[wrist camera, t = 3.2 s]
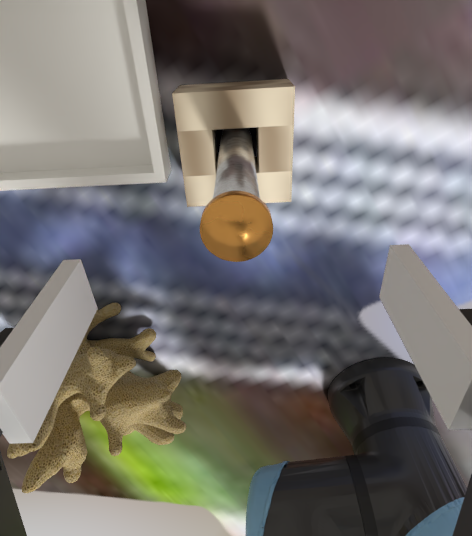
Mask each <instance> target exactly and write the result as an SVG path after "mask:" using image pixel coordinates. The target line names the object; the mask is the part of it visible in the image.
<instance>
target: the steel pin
mask: <svg viewBox="0 0 472 536" xmlns="http://www.w3.org/2000/svg"><path fill="white" fill-rule="evenodd" d="M272 234H273V224H272V218H271V214H270V211H269V209H268V207H267V206H266V204H265V203H264V202H263V201H262V200H261V199H260V196H259V189H258V182H257V174H256V167H255V159H254V152H253V145H252V137H251V132H250V130H249V128H235V129H223V131H222V135H221V143H220V150H219V158H218V165H217V173H216V180H215V188H214V195H213V199H212V200H211V201H210V202H209V203H208V204H207V206H206V207H205V209H204V211H203V213H202V217H201V223H200V235H201V239H202V241H203V243H204V245H205V246H206V248H207V249H208V250H209V251H210V252H211V253H212V254H214V255H215V256H217V257H219V258H221V259H223V260H227V261H233V262H240V261H246V260H249V259H252V258H254V257H256V256H258V255H259V254H261V253H262V252H263V251H264V250H265V249H266V248H267V246H268V245H269V243H270V241H271V238H272Z"/></svg>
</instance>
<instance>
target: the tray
mask: <svg viewBox="0 0 472 536" xmlns="http://www.w3.org/2000/svg"><path fill="white" fill-rule="evenodd" d="M170 172H171V165H170V158H169V151H168V145H167V138H166V132H165V125H164V119H163V112H162V106H161V99H160V92H159V86H158V79H157V73H156V66H155V60H154V53H153V46H152V40H151V33H150V27H149V20H148V14H147V7H146V1H145V0H0V191H4V190H24V189H44V188H64V187H83V186H103V185H123V184H143V183H163V182H166V181H167V179H168V177H169V175H170Z"/></svg>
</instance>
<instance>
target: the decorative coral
mask: <svg viewBox="0 0 472 536" xmlns="http://www.w3.org/2000/svg"><path fill="white" fill-rule="evenodd" d="M120 312H121V305H120V304H118V303H111V304H109V305H106V306H105V307H103V308H102V309H100V310H97V311H96V313H95V315H94V317H93V319H92V322H91V324H90V326H89V328H88V330H87V332H86V334H85V336H84V338H83V340H82V342H81V344H80V346H79V349H78V351H77V353H76V355H75V357H74V359H73V361H72V363H71V365H70V367H69V369H68V371H67V374H66V376H65V378H64V380H63V382H62V384H61V386H60V388H59V390H58V392H57V394H56V396H55V398H54V401H53V403H52V405H51V407H50V409H49V411H48V413H47V415H46V417H45V419H44V421H43V423H42V426H41V428H40V430H39V432H38V434H37V436H36V438H35V440H34V442H33V443H15V444H10V445H9V447H8V450H7V456H8V457H9V458H15V457H17V456H23V455H26V454H27V453H28V452H33V451H36V450H38V449H39V448H40V450H39V451H38V453H37V454H36V456H35V457H34V459H33V460H32V462H31V464H30V466H29V469H28V471H27V473H26V475H25V478H24V481H23V485H22V492H24V493H29V492H32V491H34V490H36V489H37V488H39V487H40V486H41V485H42V484H43V483H44V482H45V481H46V480H47V479H49V478H50V477H52V476H53V475H55V474H56V473H57V472H58V471H59V470H60V469H61V468H62V467H64V474H63V475H64V478H65V480H66V481H67V482H69V483H73V482H75V481H77V480H78V478H79V476H80V474H81V464H82V463H83V461H84V460H85V458H86V455H87V448H86V444H85V440H84V436H83V432H82V428H81V425H80V422H79V417H80V416H81V415H82V414H83V413H84V412H85V411H89V410H90V417H91V418H92V419H93V420H95V421H99V420H100V422H101V423H102V424H103V426H104V427H105V429H106V430H107V433H108V439H109V451H110V453H111V455H113V456H116V455H119V454H120V453H121V450H122V436H123V435H127V434H130V433H132V432H133V431H134V430H136V431H138V432H140V433H141V434H143V435H144V436H145V437H146V438H148V439H149V440H150V441H151V442H153V443H155V444H158V445H163V444H169V443H171V442H172V441H173V440H174V434H179V433H183V432H184V431H185V429H186V424H185V423H184V422H183V421H181V420H180V419H181V417H182V415H183V409H182V406H181V405H179V404H177V403H175V402H172V401H171V395H172V393H173V391H174V390H175V388H176V387H177V385H178V384H179V382H180V379H181V373H180V372H179V371H178V370H169V371H166V372H164V373H162V374H159V375H156V376H154V377H149V378H142V377H139V376H136V375H134V374H133V373H131V372H130V371H129V370H131V369H132V368H134V367H135V366H136V360H135V359H134V358H138V359H142V360H145V361H149V362H151V361H154V359H155V358H156V355H155V353H153V352H151V351H147V350H146V349H147V347H148V346H149V345H150V344H151V343H152V342H153V341H154V340H155V338H156V332H155V331H154V330H153V329H151V328H148V329H145V330H144V331H143V332H141V333H140V334H139V335H137V336H135V337H133V338H130V339H123V338H108V339H102V340H87V335H88V333H89V332H90V331H91V330H92V329H93V328H94V327H95V326H96V325H98V324H99V323H101V322H102V321H104V320H106V319H108V318H110V317H112V316H115V315H118V314H119V313H120ZM173 433H174V434H173Z"/></svg>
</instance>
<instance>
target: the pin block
mask: <svg viewBox="0 0 472 536" xmlns="http://www.w3.org/2000/svg"><path fill="white" fill-rule="evenodd" d="M172 97H173V104H174V111H175V119H176V126H177V134H178V141H179V148H180V156H181V163H182V171H183V178H184V185H185V193H186V200H187V207H192V206H207V204H208V203H209V202H210V201H211V200H212V199H213V195H214V188H215V180H216V173H217V165H218V152H217V139H216V129H235V128H253V127H256V144H257V156H256V157H254V159H255V167H256V174H257V182H258V189H259V196H260V199H261V200H262V201H263V202H264V203H275V202H291V191H292V160H293V129H294V99H295V86H294V85H293V84H292V83H291V82H290V81H289V80H288V79H277V80H260V81H243V82H226V83H208V84H191V85H180V86H179V87H178V88H177V89H176V90H175V91H174V92H173V93H172Z"/></svg>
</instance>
